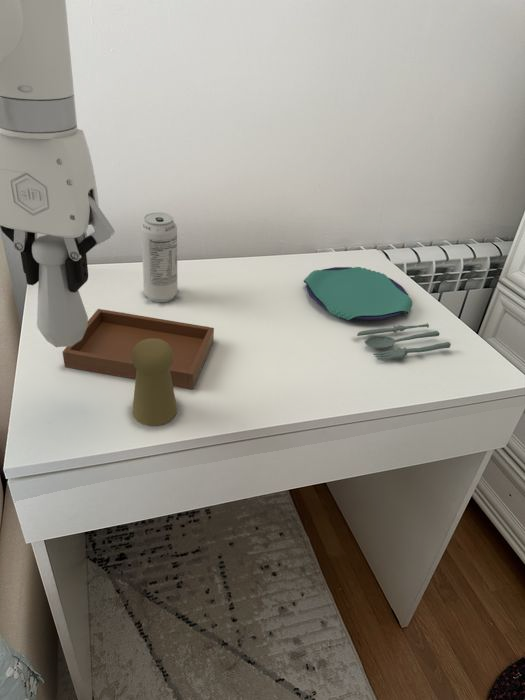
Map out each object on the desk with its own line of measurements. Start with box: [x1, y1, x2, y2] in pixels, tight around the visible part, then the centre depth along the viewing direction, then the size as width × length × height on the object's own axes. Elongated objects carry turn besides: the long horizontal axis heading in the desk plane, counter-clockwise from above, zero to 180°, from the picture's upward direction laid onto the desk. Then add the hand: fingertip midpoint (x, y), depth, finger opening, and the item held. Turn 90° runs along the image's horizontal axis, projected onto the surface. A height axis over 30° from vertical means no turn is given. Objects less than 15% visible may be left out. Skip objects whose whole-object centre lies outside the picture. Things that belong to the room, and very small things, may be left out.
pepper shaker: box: [131, 338, 178, 427], centre depth 70 cm, size 6×6×11 cm
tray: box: [62, 308, 215, 390], centre depth 83 cm, size 20×13×3 cm, turn 81°
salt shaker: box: [32, 234, 89, 348], centre depth 62 cm, size 6×6×13 cm
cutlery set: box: [303, 266, 452, 361], centre depth 99 cm, size 20×30×2 cm, turn 19°
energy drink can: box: [140, 212, 178, 303], centre depth 94 cm, size 6×6×15 cm
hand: (57, 281), depth 61 cm, fingers closed on salt shaker, 4 cm apart
